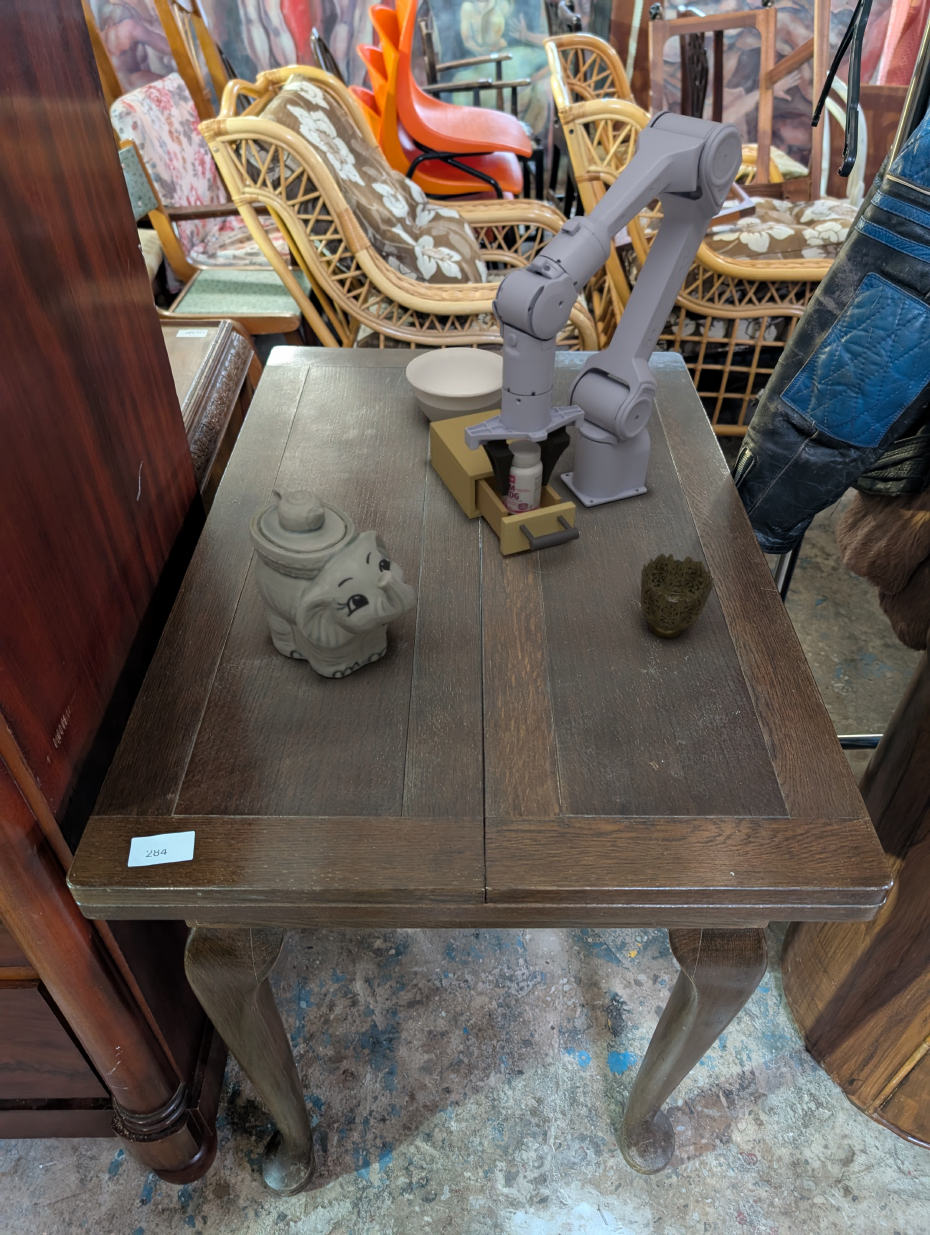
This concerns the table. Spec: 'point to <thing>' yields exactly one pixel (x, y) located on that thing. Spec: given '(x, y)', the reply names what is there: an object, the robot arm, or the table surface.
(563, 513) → the drawer
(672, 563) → the cup
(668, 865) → the table surface
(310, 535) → the grey elephant cookie jar
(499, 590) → the table surface
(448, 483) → the cabinet
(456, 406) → the bowl
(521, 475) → the pill bottle
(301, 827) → the table surface
